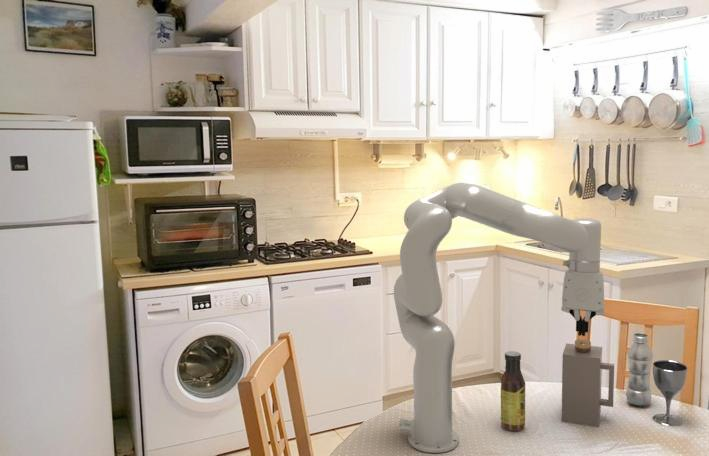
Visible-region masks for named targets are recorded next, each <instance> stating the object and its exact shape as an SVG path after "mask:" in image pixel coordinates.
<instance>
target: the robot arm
mask: <svg viewBox="0 0 709 456" xmlns="http://www.w3.org/2000/svg"><path fill="white" fill-rule="evenodd" d="M458 217H460V218H463V219H467V220H470V221H473V222H474V223H475V222H476V223H478V224H480V225H484V226H486V227H490V228H493V229H494V230H498V231H501V232H504V233H506V234H509V235H512V236H515V237H520V238H524V239H528V240H533V241H537V242H540V243H542V244H543V245H545V246H546V247H549V248H552V249H555V250H559V251H562V252H566V253H568V255H569V258H568V259H566V260H563V261H562V266H564V267H567V268H568V269H566V270H565V273H564V277H563V282H562V296H561V307H560V308H561V311H562V312H565V313H568V314H570V315H571V316H572V317H573V318H574V320H575V332H577V335H578V336H582V337H585V336H586V333H589V323H590V320H591V319H593V318H594V317H595V316H601V315H602V316H604V315H605V313H606V312H605V307H604V306H605V283H604V275H603V272H602V270H600V268H601V267H600V266H601V240H602V239H601V238H602V223H601V222H600V221H599V220H598V219H595V218H589V217H587V218H586V217H584V218H582V217H581V218H575V219H569V218H567V217H564V216H562V215H559V214H556V213H553V212H551V211H547V210H544V209H541V208H538V207H536V206H534V205H532V204H529V203H526V202H523V201H521V200H518V199H516V198H513V197H510V196H508V195H505V194H502V193H500V192H496V191H494V190H491V189H488V188H486V187H484V186H481V185H478V184H473V183H466V182H456V183H453V184H451V185H447V186H446V187H443V188H441V189H439V190H436V191H435V192H432V193H430V194H428V195H426V196H424V197H421V198H419V199H417V200H415V201H413V202H412V203H410V204H409V205H408V207H407V208H406V209H405V211H404V214H403V222H404V225H405V227H406V228H407V230H408V231H407V232H406V234H405V235H404V238H403V240H402V243H401V246H400V250H399V261H400V267H401V274H400V275H399V276H398V277H397V279H396V280H395V283H394V287H393V299H394V304H395V309H396V314H397V319H398V324H399V328H400V329H399V330H400V331H401V334H402V337H403V339H404V340H405V341H406V343H408V345H409V346H411V347H412V348H413V349H414V350H415V358H414V363H413V370H412V372H413V376H412V379H413V381H412V383H413V416H414V417H413V419H411V420H408V419H405V418H399V422H398V423H399V424H398V426H399V427H400V431H404V432H409V433H408V443H409V445H410V446H411V447H413V448H414V449H415V450H417V451H421V452H424V453H430V454H431V453H432V454H434V453H435V454H440V453H446V452H450V451H452V450H453V449H455V448H457V447H458V446H459V442H460V438H459V437H460V436H459V435H458V433H457V432H456V431H454V430H453V375H452V374H453V360H454V353H455V347H456V341H455V337H454V334H453V332H452V330H451V328H450V327H449V326H448V325H447V324H446V323H445V322H443V321H442V320H441V319H439V318H438V317H436V316H435V315H436V314H438V313H439V311H440V309H441V308H442V306H443V293H442V292H443V291H442V288H441V283H440V277H439V272H438V266H437V258H436V255H437V250H438V248H439V246H440V244H441V242H442V241H443V240H444V239H445V238H446V236H447V235H449V232H450V231H451V229H452V225H453V219H455V218H458ZM581 311H582V312H583V311H585V315H584V316H583V318H582V315H581Z"/></svg>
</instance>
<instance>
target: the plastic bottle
mask: <svg viewBox="0 0 709 456" xmlns="http://www.w3.org/2000/svg"><path fill="white" fill-rule="evenodd" d="M632 339H633V340H632V341H633V343H632V344H631V346H630V347H629V348H628V350H627V358H628V372H629V373H628V382H627V383H628V384H627V388H626V391H625V392H626V393H625V396H626V400H627V401H628V403H629V404H631V405H632V406H637V407H646V406H648V405H649V404H650V403H651V402H652V400H651V399H652V390H651V378H650V376H651V368H652V365H653V364H652V363H653V358H654V353H653V350H652V348H651V347H650V346H649V345H648V343H649V335H648V334H646V333H643V332H641V333H640V332H637V333H634V334H633V338H632Z"/></svg>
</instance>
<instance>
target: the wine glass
mask: <svg viewBox="0 0 709 456" xmlns="http://www.w3.org/2000/svg"><path fill="white" fill-rule="evenodd" d="M652 363H653V364H652V376H653V377H652V378H653V382H654V384H655V386H656V388H657V389H658V390H659V392H660V393H661V394H662V395H663V398H664V399H665V405H666V406H665V408H666V411H665V413H657V414H655V415H653V416H652V419H653V421H654V422H656V423H657V424H660V425H663V426H667V427H678V426H681V425H683V423H684V421H683V420H682V419H681V418H680V417H679V416H676V415H673V414H670V411H671V404H672V400H673V398H674V397H675V396H677V394H679V393H680V392H682V390H683V389H684V387H685V384H686V382H687V376H688V366H687V365H685V364H684V363H681V362H679V361H675V360H667V359H662V360H661V359H660V360H656V361H654V362H652Z"/></svg>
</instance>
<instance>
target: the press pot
mask: <svg viewBox="0 0 709 456" xmlns="http://www.w3.org/2000/svg"><path fill="white" fill-rule="evenodd" d="M561 362H562V363H561V364H562V369H561V422H563V423H569V424H575V425H581V426H582V425H583V426H588V427H594V428H599V426H600V421H601V420H600V419H601V412H602V411H601V410H602V409H601V408H602V406H604V407H611V408H613V407H614V396H615V395H614V392H615V390H614V387H615V386H614V385H615V363H610V362H603V346H597V345H595V346H594V345H591V351H588V352H580V351H577V350H575V343H567V342H566V343H565V346H564V349H563V351H562V361H561ZM602 370H607V371H608V393H607V396H608V397H607V398H608V399H607V398H602V375H603V374H602Z"/></svg>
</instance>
